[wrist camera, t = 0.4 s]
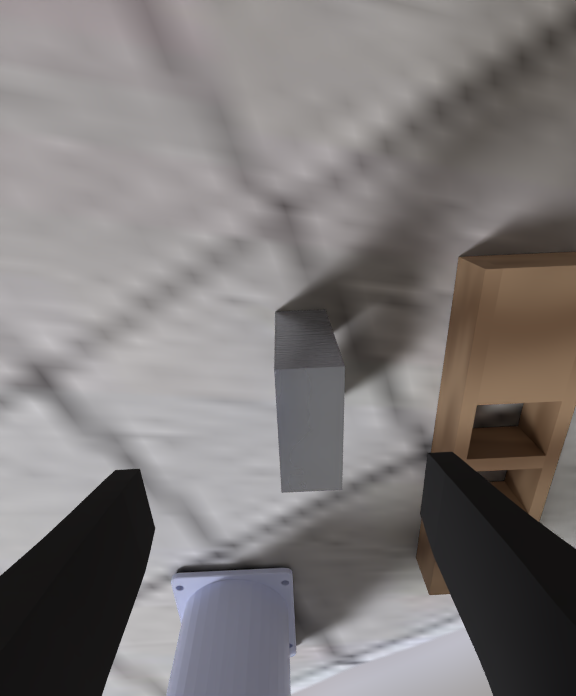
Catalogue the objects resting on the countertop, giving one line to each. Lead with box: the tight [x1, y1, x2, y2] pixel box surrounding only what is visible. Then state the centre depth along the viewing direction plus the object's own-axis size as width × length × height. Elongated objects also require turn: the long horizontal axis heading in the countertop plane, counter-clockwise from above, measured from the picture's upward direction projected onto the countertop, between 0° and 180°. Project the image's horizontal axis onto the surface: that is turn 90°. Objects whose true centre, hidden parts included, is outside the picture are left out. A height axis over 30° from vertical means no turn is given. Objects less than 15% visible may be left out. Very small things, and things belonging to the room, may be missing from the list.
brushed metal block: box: [274, 310, 345, 493], centre depth 17 cm, size 6×2×6 cm, turn 2°
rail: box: [416, 252, 576, 595], centre depth 21 cm, size 20×5×2 cm, turn 2°
